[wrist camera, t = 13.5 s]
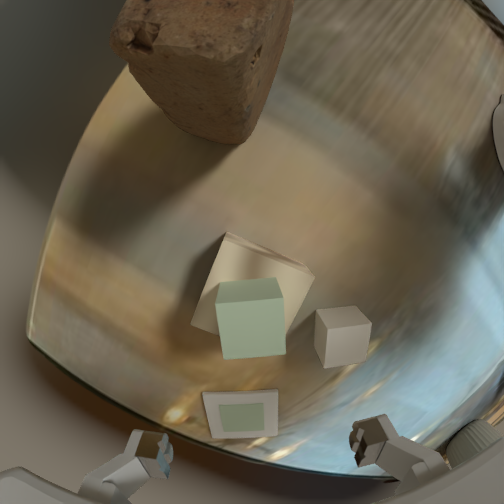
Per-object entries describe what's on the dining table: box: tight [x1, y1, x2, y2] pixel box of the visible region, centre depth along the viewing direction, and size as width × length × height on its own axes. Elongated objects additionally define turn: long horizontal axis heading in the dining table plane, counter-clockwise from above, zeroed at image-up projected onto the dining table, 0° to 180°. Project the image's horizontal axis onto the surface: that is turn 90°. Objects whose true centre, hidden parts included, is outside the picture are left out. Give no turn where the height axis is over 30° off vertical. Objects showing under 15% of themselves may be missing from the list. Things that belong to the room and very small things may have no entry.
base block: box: [190, 232, 315, 336], centre depth 27 cm, size 9×9×5 cm
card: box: [202, 389, 278, 438], centre depth 33 cm, size 10×10×1 cm
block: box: [109, 0, 294, 144], centre depth 16 cm, size 11×8×20 cm
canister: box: [446, 419, 504, 469], centre depth 31 cm, size 18×18×21 cm
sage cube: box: [215, 277, 286, 360], centre depth 23 cm, size 5×5×5 cm
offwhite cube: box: [314, 305, 372, 369], centre depth 29 cm, size 5×5×5 cm
